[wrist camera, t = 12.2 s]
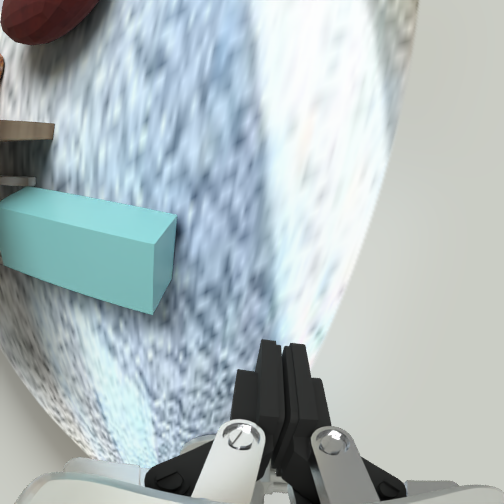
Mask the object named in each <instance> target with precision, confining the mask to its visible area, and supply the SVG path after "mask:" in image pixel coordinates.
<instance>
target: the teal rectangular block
mask: <svg viewBox="0 0 504 504" xmlns="http://www.w3.org/2000/svg"><path fill="white" fill-rule="evenodd" d="M176 224H177V215H175V214H170V213H166V212H161V211H156V210H151V209H146V208H141V207H136V206H131V205H126V204H121V203H116V202H111V201H106V200H100V199H95V198H90V197H85V196H79V195H74V194H69V193H63V192H58V191H53V190H47V189H42V188H36V187H30V186H26V187H24V188H22V189H21V190H19V191H17V192H15V193H13V194H12V195H10V196H8V197H6V198H4V199H3V200H1V201H0V251H1V256H2V260H3V264H4V266H7V267H9V268H12V269H14V270H17V271H20V272H22V273H25V274H27V275H30V276H33V277H35V278H38V279H41V280H43V281H46V282H49V283H52V284H55V285H57V286H60V287H63V288H66V289H69V290H72V291H75V292H78V293H81V294H84V295H87V296H90V297H93V298H96V299H100V300H103V301H106V302H109V303H113V304H116V305H119V306H123V307H126V308H130V309H133V310H137V311H140V312H144V313H147V314H151V315H153V314H154V312H155V310H156V308H157V306H158V304H159V302H160V300H161V298H162V296H163V294H164V292H165V290H166V289H167V287H168V285H169V283H170V281H171V279H172V270H173V257H174V245H175V234H176Z"/></svg>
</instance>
